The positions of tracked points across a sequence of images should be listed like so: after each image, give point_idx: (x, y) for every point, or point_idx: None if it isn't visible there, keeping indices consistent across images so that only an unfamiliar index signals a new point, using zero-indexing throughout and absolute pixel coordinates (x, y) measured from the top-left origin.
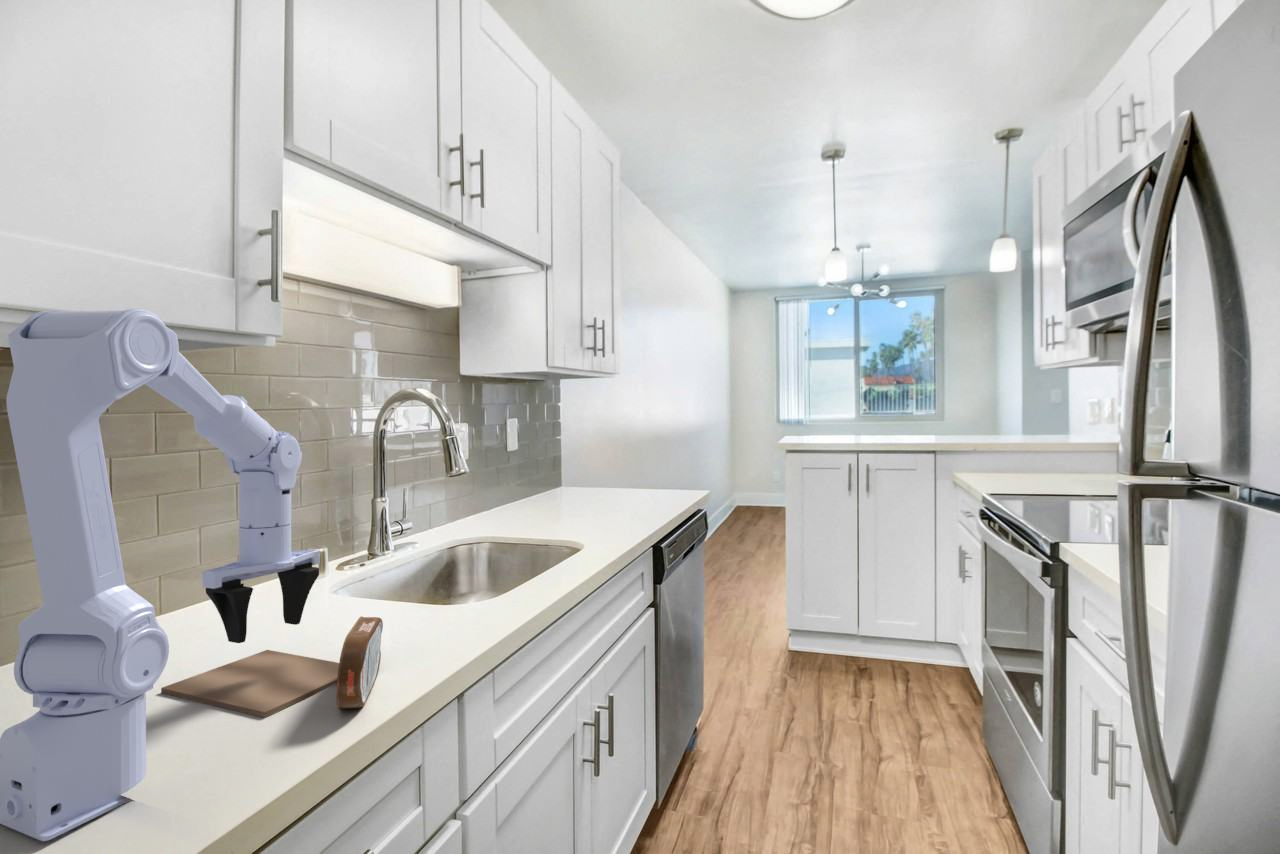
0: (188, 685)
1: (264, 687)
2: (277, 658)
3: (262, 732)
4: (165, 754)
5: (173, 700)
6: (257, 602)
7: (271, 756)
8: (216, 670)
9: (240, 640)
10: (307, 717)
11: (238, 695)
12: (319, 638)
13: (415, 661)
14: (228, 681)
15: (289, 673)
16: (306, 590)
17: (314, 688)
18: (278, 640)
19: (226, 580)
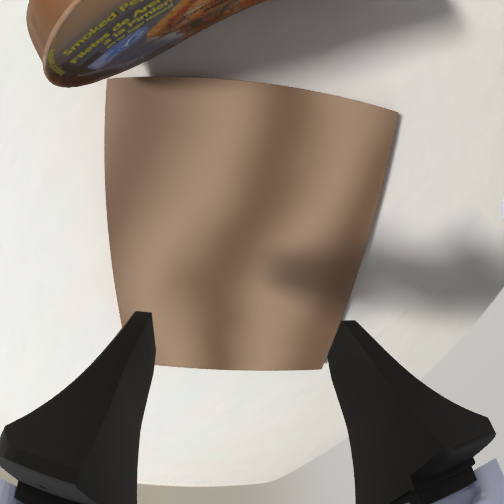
0: (307, 348)
1: (290, 216)
2: None
3: (434, 77)
4: (489, 179)
5: None
6: None
7: (476, 21)
8: (239, 362)
9: (358, 324)
10: (371, 26)
11: (337, 233)
12: (39, 328)
13: None
14: (279, 308)
15: (203, 227)
16: (86, 394)
17: (264, 90)
18: None
19: (448, 499)
